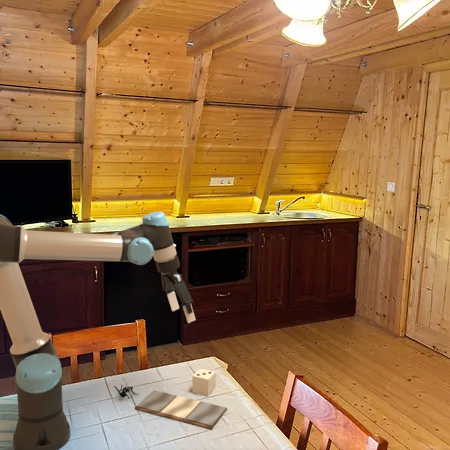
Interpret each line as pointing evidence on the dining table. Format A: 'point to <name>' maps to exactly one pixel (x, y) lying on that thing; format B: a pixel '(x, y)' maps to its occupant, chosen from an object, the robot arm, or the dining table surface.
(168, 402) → the board
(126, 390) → the creature
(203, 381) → the die
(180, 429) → the dining table surface
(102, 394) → the dining table surface
